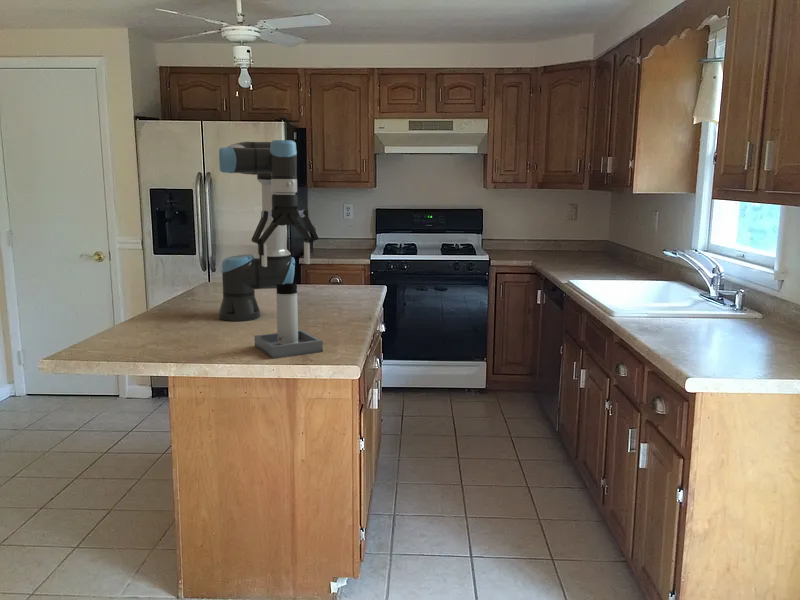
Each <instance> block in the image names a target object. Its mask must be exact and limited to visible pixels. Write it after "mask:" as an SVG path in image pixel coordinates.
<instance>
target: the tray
mask: <svg viewBox="0 0 800 600" xmlns="http://www.w3.org/2000/svg"><path fill="white" fill-rule="evenodd" d="M256 347H257V348H256ZM323 347H324V346H323V340H322V339H320V338H319V337H316V336H314V335H313V334H311V333H309V332H307V331H305V330H303V329H298V343H292V344H284V345H278V334H277V332H274V333H267V334H259V335H254V348H256V349H258V350H259V351H261V352H262V353H263V354H265V355H267V356H268V358H271V359H272V360H273V359H279V358H280V357H281V358H287V356H288V357H294V355H296V356H301V355H302V354H303V355H309V354H316V353H323V352H324V351H323Z"/></svg>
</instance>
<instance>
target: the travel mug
mask: <svg viewBox="0 0 800 600" xmlns="http://www.w3.org/2000/svg"><path fill="white" fill-rule="evenodd" d="M297 287H298V284H297V283H294V282H293V283H285V284H276V288H275V289H276V323H277V324H276V326H277V327H276V329H277V332H276V333H277V334H278V345H284V344H292V343H298V331H299V323H298V322H299V320H298V318H299V317H298V316H299V315H298V313H299V312H298V310H299V309H298V288H297Z"/></svg>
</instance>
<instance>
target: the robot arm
mask: <svg viewBox="0 0 800 600" xmlns="http://www.w3.org/2000/svg"><path fill="white" fill-rule="evenodd" d="M297 154H298V151H297V143H296V142H295V141H294V140H290V139H286V140H285V139H274V140H271V141H241V142H240V141H239V142H237V143H233V144H232V143H231V144H230V145H228V146H226V147H221V148H220V147H219V149H218V157H219V158H218V161H219V171H220V172H221V173H224V174H225V173H227V174H243V175H256V178H257V179H256V181H258V182H259V183H260V184H261V206H262V207H261V209H262V211H261V215H260V220H259V222H258V223H257V227H256V228H255V231H254V233H253V236H252V238H251V242H252V243H255V244H257V251H258V255H259V257H258V258H255V256H254V255H253V254H251V253H250V254H238V255H232V256H228V257H226V258H224V259H223V260H222V262H221V274H222V275H221V276H222V301H221V302H220V303H221V304H220V307H219V309H218V310H219V311H218V318H219V319H220V320H222V321H229V322H240V321H241V322H244V321H252V320H256V319H259V318H260V317H261V310H260V306H259V304H258V301H257V299H256V295H255V290H266V289H277V288H276V284H285V283H294V277H295V271H296V270H295V268H296V260H295V257H292V254H291V252H290V251H289V250H288V249H287V248H288V247H287V226H293V227H294V228H295V229H296V230H297V231H298V232H299V234H300V235H301V237H303V239H304V240H305V241H304V242H303V258H304V259H303V262H304V264H306V265H311V254H312V253H313V243H314V242H315V241H318V240H319V236H318V234H317V232H316V230H315V227H314V226H313V223H312V222H311V220H310V219H311V218H310V217H309V211H308V210H307V209H301V210H298V205H299V204H298V195H297V194H296V193H298V176H297V175H298V174H297V173H298V172H297V168H298V167H297V165H298V163H297V160H298V159H297V156H298V155H297ZM298 217H300V218H301V219H302V221H303V223H304V226H305V227H306V229H305V228H304V227H303V226H302V224H301V222H300V221H299V220H298V219H297V218H298ZM307 231H308V232H307Z"/></svg>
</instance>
